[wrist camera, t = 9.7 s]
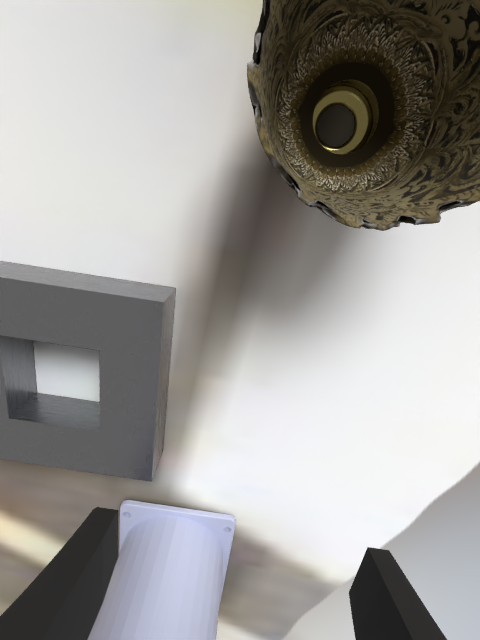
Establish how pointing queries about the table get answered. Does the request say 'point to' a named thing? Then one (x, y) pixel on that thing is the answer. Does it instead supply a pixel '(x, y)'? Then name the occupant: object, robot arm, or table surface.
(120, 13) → the table surface
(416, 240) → the table surface
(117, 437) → the housing
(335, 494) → the table surface
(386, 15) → the cup
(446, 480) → the table surface
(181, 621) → the robot arm
